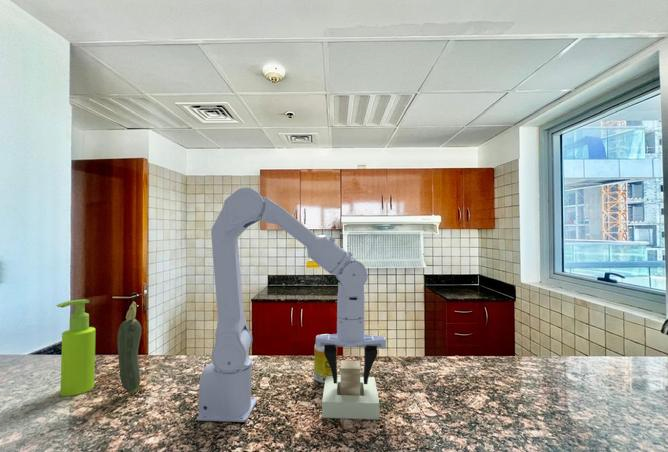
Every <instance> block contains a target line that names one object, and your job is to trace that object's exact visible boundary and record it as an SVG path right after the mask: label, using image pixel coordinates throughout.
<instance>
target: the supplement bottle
mask: <svg viewBox="0 0 668 452" xmlns="http://www.w3.org/2000/svg"><path fill="white" fill-rule="evenodd" d="M320 335H330V334H329V333H324V334H323V333H322V334H320ZM313 348H314V349H313V350H314V351H313V353H314V355H313V357H314V358H313V359H314V360H313V361H314V362H313V363H314V364H313V368H314V369H313V378H314V380H315V381H316V382H318V383H323V384H325V379H326V376H333V375H332V371H331V368H330V365H329V363H328V361H327V358H326V357H325V354H324V346H321V347H316V343H315V344H314V347H313Z"/></svg>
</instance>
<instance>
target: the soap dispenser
mask: <svg viewBox="0 0 668 452" xmlns="http://www.w3.org/2000/svg"><path fill="white" fill-rule="evenodd" d="M89 303H90V300H89V299H86V298H83V299H73V300H68V301H64V302H61V303H58V304H57V305H56V307H57V308H65V307H68V306H74V313H73V314H71V315H70V316H69V329H67V330H65V331H63V332H62V333H61V359H60V360H61V361H60V362H61V363H60V367H61V368H60V395H61V396H63V397H71V396H72V397H73V396H77V395H81V394H84V393H87V392H88V391H91V390H92V389H93V388H94V387H95V367H96V366H95V365H96V363H95V362H96V328H95V327H94V326H90V314H89V313H87V312H85V310H86V309H85V306H86V305H85V304H89Z"/></svg>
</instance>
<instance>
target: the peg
mask: <svg viewBox="0 0 668 452" xmlns="http://www.w3.org/2000/svg"><path fill="white" fill-rule="evenodd" d="M340 376H341V385H340V395H353V396H360V377H361V361H360V360H345V359H344V360H340Z"/></svg>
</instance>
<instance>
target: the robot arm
mask: <svg viewBox="0 0 668 452" xmlns="http://www.w3.org/2000/svg"><path fill="white" fill-rule="evenodd" d="M259 221H261V222H264V223H268V224H273V225H277V226H278V227H279V228H281V229H282V230H283V231H285V232H286V233H288V234H289V235H290V237H293V238H294V239H296V240H297V241H298V242H299V243H300V244H302V245H303V246H305V247H306V251H307V256H308V258H309V259H311V260H312V261H313V262H315V263H316V264H317V265H318V266H320V267H321V268H322V269H323V270H325V271H326V272H327V273H328V274H330V275H332V276H333V275H335V278H336V279H337V281H338V282H337V287H338V288H337V295H336V296H337V298H336V302H337V303H336V306H337V308H336V309H337V310H336V311H337V312H336V318H337V319H336V333H332V334H330V335H321V334H317V335H316V336H315V344H316V347H321V346H324V354H325V357H326V358H327V361H328V363H329V365H330V368H331V371H332V375H333V382H334V383H335V384H337V376H338V348H364V349H363V350H364V353H363V355H364V357H363V359H364V365H363V377H364V384H368V377H370V373H371V370H372V367H373V365H374V363H375V360H376V359H377V356H378V353H379V352H378V348H379V349H381V350H386V349H387V346H386V345H387V339H386V336H382V335H381V336H380V335H378V336H377V335H371V334H365V284H366V283H367V281H368V277H369V275H368V273H367V269H366V267H365V265H364V264H363V263H362V262H361V261H359V260H356V258H354V257H353V256H354V254H353V253H352V252H351V251H346V250H345V249H343V248H342V247H341V246H340V245H339V244H337V243H336V238H334V237H332V236H329V237H328V236H327V235H326V234H321V235H316V234H314V232H312V231H311V230H309V229H308V227H306V226H305V225H304V224H303V223H301V222H300V220H298V219H296V218H295V217H294V216H293V215H292V214H291V213H290V212H288V211H287V210H286V209H285V208H284V207H282V206H281V205H279V204H278V203H276V202H274V201H273V200H271V199H270V198H268V197H266V196H264V195H263V196H262V195H261V194H260V193H259V192H258V191H257V190H256V189H254V188H250V187H241V188H239V189H236V190H235V191H233V193H232V194H230V195H229V196H228V197H227V198H225V200H224V202H223V205H222V208H221V210H220V212H219V214H218V216H217V218H216V220H215V221H214V223H213V225H212V227H211V231H210V234H211V247H212V250H211V251H212V259H213V272H214V286H215V299H216V309H217V324H216V329H215V333H214V334H215V335H214V336H215V337H214V339H215V342H214V343H215V344H214V347H213V349H212V351H211V361H212V363H209V364H207V365H206V366H204V368H203V370H202V372H201V374H200V378H199V382H198V415H197V417H196V421H201V422H202V421H204V422H234V423H235V422H236V423H237V422H238V423H244V422H247V420H248V419H249V417H250V415H251V413H252V411H253V409H254V408H255V406H256V404H257V402H258V398H257V397H252V372H253V371H252V370H253V369H252V363H253V361H252V358H251V357H250V356H249V353H248V352H249V350H250V348H251V347H252V344H253V335H252V333H251V331H250V329H249V327H248V324H247V318H246V315H245V312H244V302H243V288H242V275H241V266H240V251H239V240H238V239H239V237H240V236H241V235H242V234H243V233H244V232H245V231H246V230H247V229H248V228H249V227H250V226H251V225H254V224H256V223H257V222H259Z"/></svg>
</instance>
